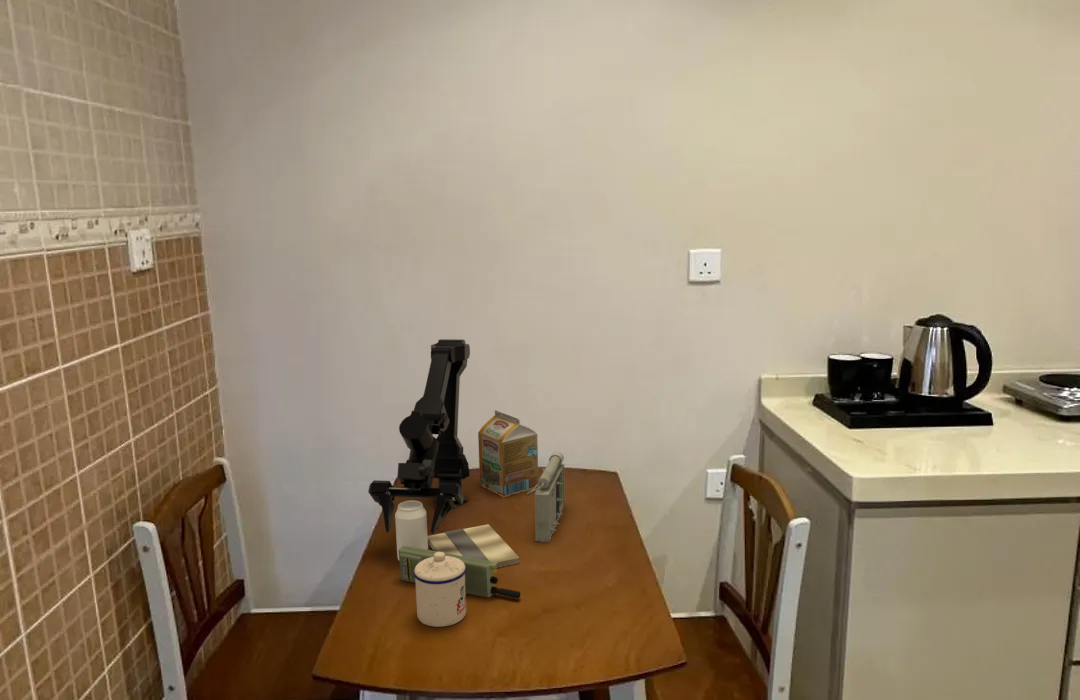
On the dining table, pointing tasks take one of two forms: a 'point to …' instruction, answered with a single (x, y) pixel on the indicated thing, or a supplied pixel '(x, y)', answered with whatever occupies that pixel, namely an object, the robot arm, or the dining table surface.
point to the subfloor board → (475, 545)
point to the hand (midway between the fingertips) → (409, 532)
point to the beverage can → (411, 525)
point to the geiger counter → (549, 498)
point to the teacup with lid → (440, 590)
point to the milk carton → (507, 455)
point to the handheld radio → (476, 574)
